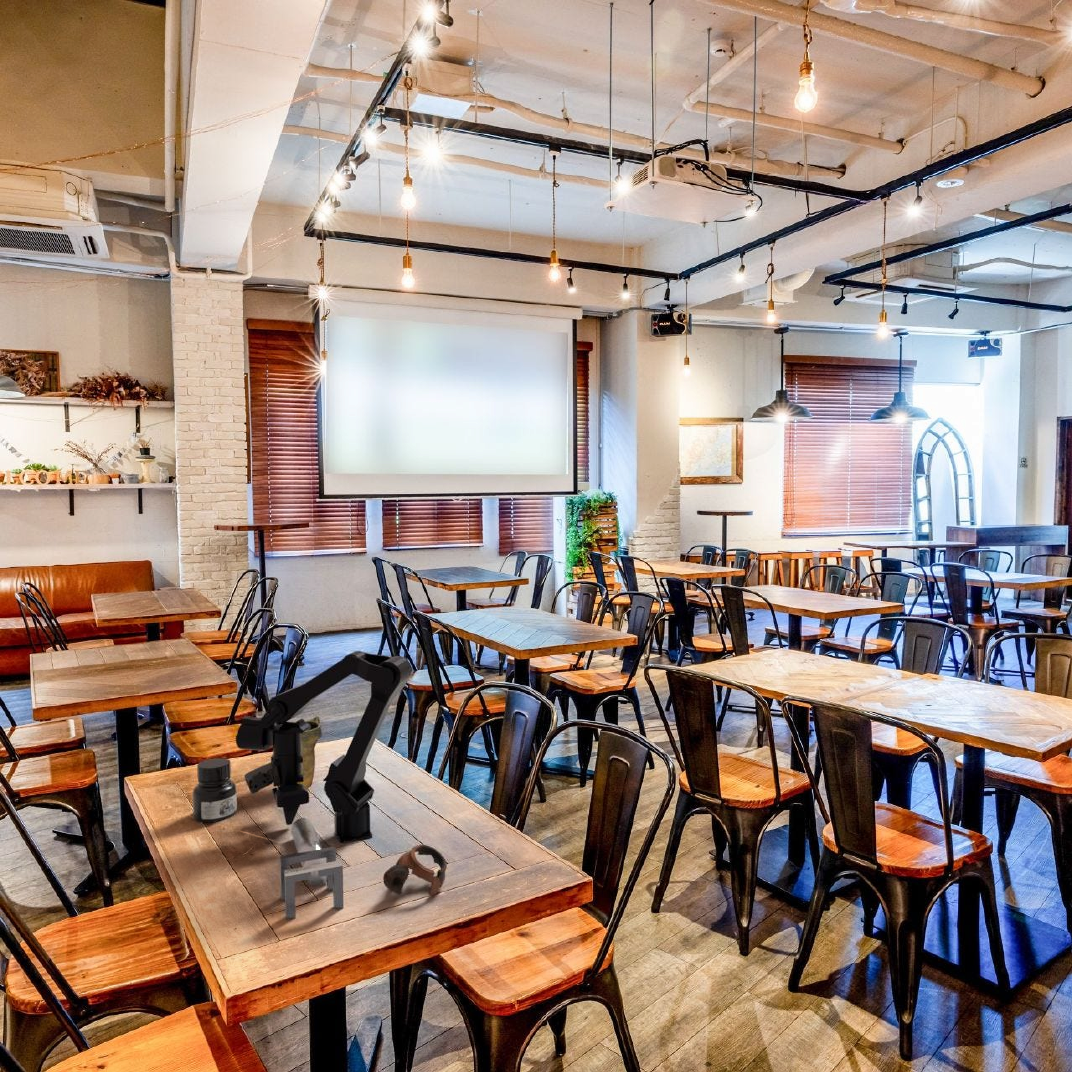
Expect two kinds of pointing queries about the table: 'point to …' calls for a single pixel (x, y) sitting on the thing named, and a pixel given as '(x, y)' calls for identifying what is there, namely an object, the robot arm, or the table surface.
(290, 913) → the arch block
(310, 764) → the pot
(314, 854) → the arch block
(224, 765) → the ink bottle
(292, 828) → the air tube
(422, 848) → the brown headphones
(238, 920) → the table surface
